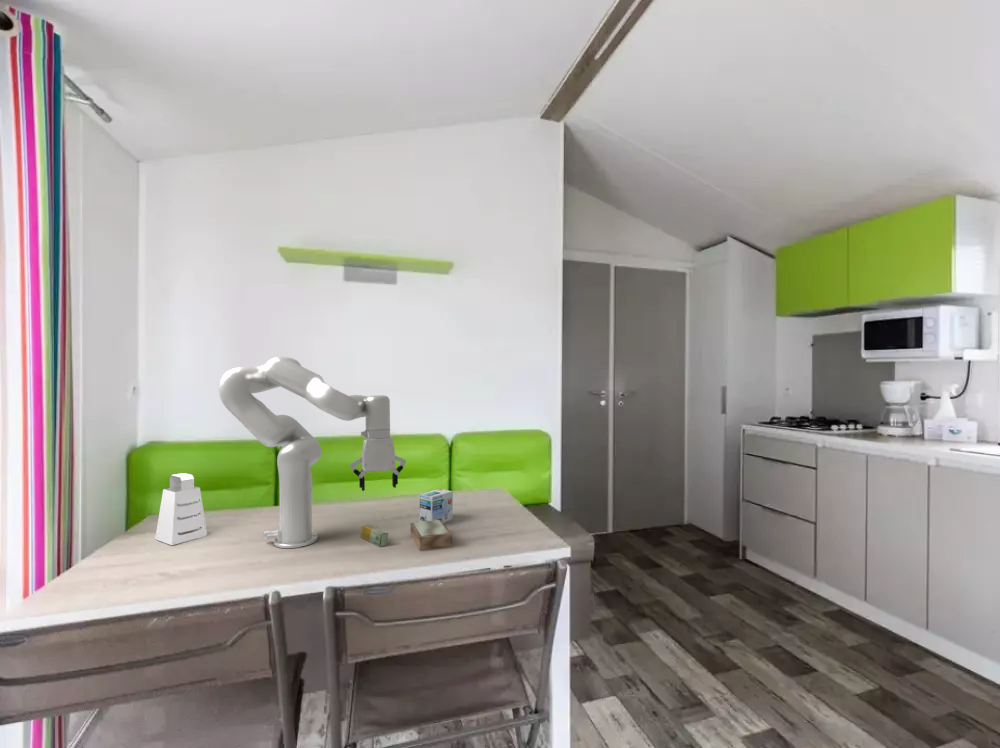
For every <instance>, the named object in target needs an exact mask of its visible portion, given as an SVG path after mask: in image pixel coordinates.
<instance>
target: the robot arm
mask: <svg viewBox="0 0 1000 748" xmlns="http://www.w3.org/2000/svg"><path fill="white" fill-rule="evenodd" d="M218 385H219V387H218V394H219V398H220V400H221V403H222V404H223V405H224V407H225V408H226V409H227V410H228V411H229V413H230V414H231V415H233V416H234V417H235V419H237V420H238V421H239V422H240V423H241V424H242V425H243V427H244V428H246V430H248V432H249V433H251V434H252V436H254V437H255V439H257V441H259V443H261V444H262V445H263V446H265V447H268V448H274V447H278V446H281V448H280V450H279V452H278V454H277V459H276V463H277V465H276V466H277V470H278V479H279V481H278V483H279V484H278V485H279V519H278V520H279V526H278V528H275V529H274V530H265V531H263V538H265V539H267V540H269V539H270V540H271V539H273V545H274V546H275V547H277V548H279V549H280V548H281V549H295V548H303V547H305V546H309V545H312V544H313V543H315V542H316V541H317V540H318V534H317V533H315V532H313V477H312V476H313V475H312V471H311V466H313V465H314V464H316V463H317V462H318V461H319V460H320V458H321V457H322V448H321V444H320V443H319V441H318V440H317V439H316V438H315V437H314V436H313V435H312V434H311V433H310V432H309V431H308V430H307V429H306V428H305V427H304V426H303V425H302V424H300V422H298V420H297V419H295V418H294V417H293V416H290V415H286V414H277V415H276V414H275V413H274V412H273V411H272V410H270V409H269V408H268V407H267V406H266V404H264V403H263V401H261V400H259V399H258V398H257V397H255V395H253V394H258V393H262V392H266V391H269V390H272V389H276V388H283V389H285V390H287V391H288V392H290V393H293V394H295V395H296V396H300V397H301V398H303V399H305V400H307V402H309V403H310V404H312V405H313V406H315V407H316V408H317V409H319V410H321V411H322V412H325V413H326V414H329V415H331V416H333V417H335V418H337V419H339V420H343V421H346V422H349V421H354V420H357V419H360V418H365V429H364V430H363V431H360V436H361V437H365V438H363V443H362V449H361V457H359V458H358V459H356V460H355V461H352V462H350V464H349V467H350V469H351V471H352V472H353V473H354V474H355V476H357V477H358V479H359V484H358V486H359V488H360V489H361V491H362V492H364V491H365V490H366V489H365V487H366V484H365V483H366V482H365V479H366V478H365V475H366V474H367V473H373V472H388V471H392V474H391V476H392V477H391V480H392V481H391V482H392V483H391V486H392V487H393V488H394V489H396V487H397V485H398V484H399V482H398V481H399V474H400V473H401V472H402V470H403V469H404V468H405V465H406V463H407V460H406V459H405V458H402V457H400V456H398V455H396V452H395V451H396V450H395V443H394V438H393V437H391V409H390V408H391V407H390V405H391V404H390V402H391V401H390V400H391V399H390V398H389V397H388V396H387V395H382V394H381V395H379V394H377V395H369V396H368V395H361V394H360V395H359V394H352V395H348V394H346V393H343V392H342V391H340V390H337V389H335V388H334V387H333V386H330V385H329V384H328V383H326V382H325V380H324V378H323V376H321V375H320V374H318V373H316V372H313V371H312V370H310V369H308V368H305V367H304V366H302V364H301V363H300V362H299V361H298V360H296V359H295V358H293V357H287V356H286V357H285V356H276V357H272V358H270V359H269V360H267V361H266V363H265V364H262V365H260V366H259V365H258V366H255V367H253V366H250V367H249V366H241V367H240V366H239V367H234V368H231V369H229V370H227V371H226V372H225V373H224V374H223V375H222V377H221V378H220V381H219V384H218ZM396 462H398V463H399V462H400V463H399V465H398V466H397V468H396ZM360 464H361V467H362V468H361V470H360V471H359V470H358V469H357V466H358V465H360ZM302 546H303V547H302Z"/></svg>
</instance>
